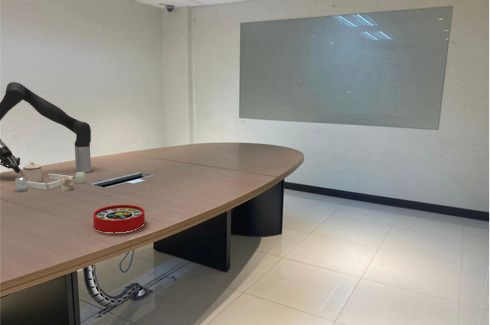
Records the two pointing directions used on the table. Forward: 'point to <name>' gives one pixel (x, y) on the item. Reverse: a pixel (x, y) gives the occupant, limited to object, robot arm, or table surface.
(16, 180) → the metal cylinder
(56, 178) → the sorting bay
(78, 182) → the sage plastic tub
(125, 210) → the toy clock
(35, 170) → the teacup with lid
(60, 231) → the table surface
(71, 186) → the birch block
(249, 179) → the table surface
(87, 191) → the table surface
